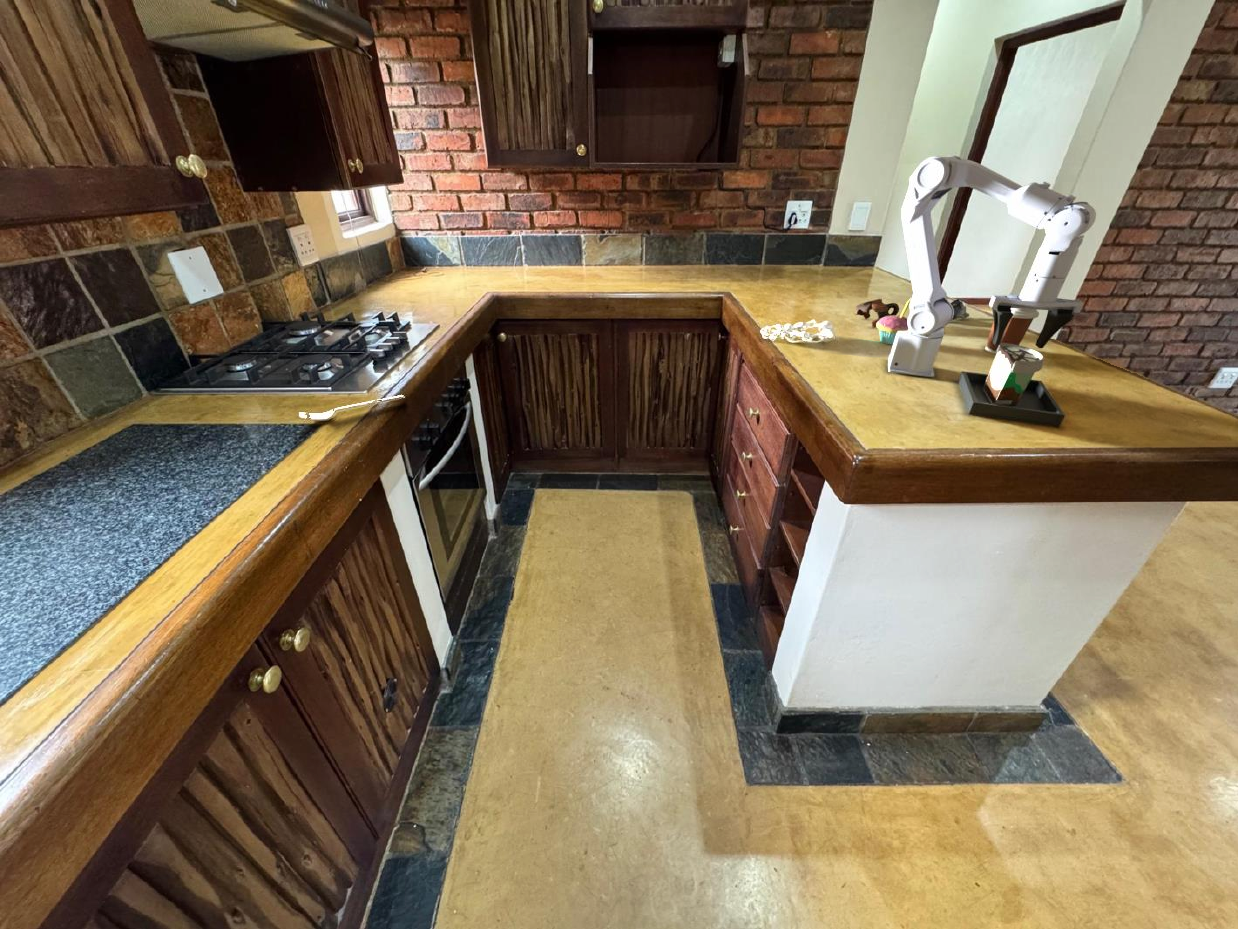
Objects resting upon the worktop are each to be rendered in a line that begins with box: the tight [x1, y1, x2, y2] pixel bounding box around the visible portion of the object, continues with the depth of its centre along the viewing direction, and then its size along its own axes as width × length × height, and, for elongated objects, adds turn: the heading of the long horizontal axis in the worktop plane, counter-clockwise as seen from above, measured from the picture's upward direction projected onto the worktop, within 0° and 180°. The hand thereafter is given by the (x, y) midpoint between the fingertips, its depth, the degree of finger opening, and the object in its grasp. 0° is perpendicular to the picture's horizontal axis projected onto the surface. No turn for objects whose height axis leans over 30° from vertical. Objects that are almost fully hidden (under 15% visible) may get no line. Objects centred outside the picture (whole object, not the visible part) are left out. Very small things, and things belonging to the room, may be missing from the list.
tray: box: [957, 371, 1066, 429], centre depth 100 cm, size 15×18×3 cm
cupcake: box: [876, 297, 912, 346], centre depth 130 cm, size 9×8×12 cm
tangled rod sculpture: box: [760, 318, 836, 344], centre depth 135 cm, size 19×14×4 cm
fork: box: [298, 394, 406, 422], centre depth 102 cm, size 3×20×2 cm, turn 122°
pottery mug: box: [854, 298, 900, 329], centre depth 146 cm, size 12×10×8 cm
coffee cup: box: [984, 305, 1040, 354], centre depth 123 cm, size 9×9×12 cm
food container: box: [983, 343, 1044, 407], centre depth 97 cm, size 12×6×10 cm, turn 158°
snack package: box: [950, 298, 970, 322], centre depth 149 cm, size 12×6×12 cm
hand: (1016, 345), depth 99 cm, fingers open, 7 cm apart
